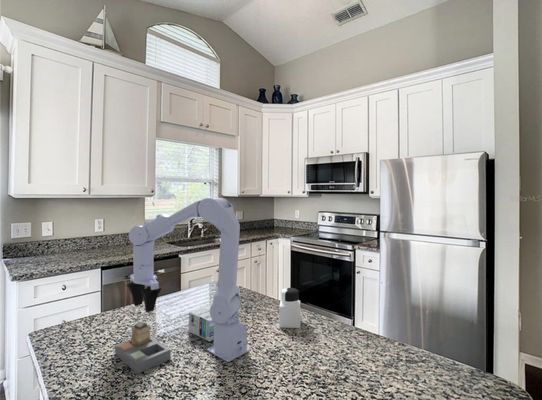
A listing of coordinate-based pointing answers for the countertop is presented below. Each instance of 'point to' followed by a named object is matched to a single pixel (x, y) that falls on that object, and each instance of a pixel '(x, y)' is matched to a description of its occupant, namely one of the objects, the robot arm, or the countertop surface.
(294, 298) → the medicine bottle
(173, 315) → the countertop surface
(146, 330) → the plug
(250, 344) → the countertop surface
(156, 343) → the port board
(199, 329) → the light bulb box
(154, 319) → the countertop surface
